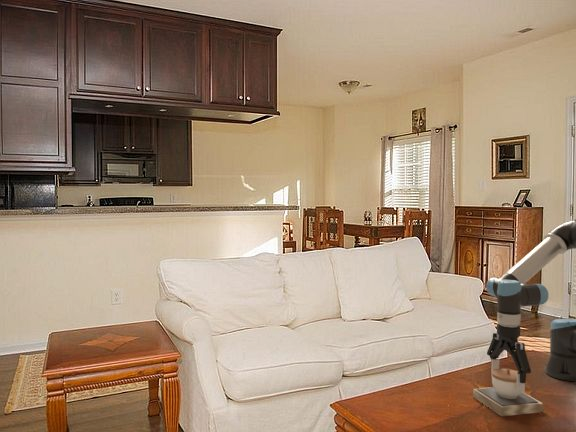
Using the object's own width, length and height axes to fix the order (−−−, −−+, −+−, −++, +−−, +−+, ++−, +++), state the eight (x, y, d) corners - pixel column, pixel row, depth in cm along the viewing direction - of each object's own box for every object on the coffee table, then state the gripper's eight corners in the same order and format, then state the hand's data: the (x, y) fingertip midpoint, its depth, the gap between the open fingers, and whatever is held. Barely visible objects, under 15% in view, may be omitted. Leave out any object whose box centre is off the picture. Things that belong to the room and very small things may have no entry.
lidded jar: (527, 403, 164) (528, 376, 164) (494, 399, 167) (494, 373, 166) (520, 390, 175) (521, 365, 174) (488, 388, 177) (489, 362, 177)
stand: (511, 393, 181) (511, 384, 180) (542, 412, 165) (542, 402, 165) (472, 397, 177) (473, 388, 177) (501, 416, 161) (501, 406, 161)
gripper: (477, 316, 181) (476, 372, 182) (523, 335, 157) (522, 399, 158) (495, 315, 183) (494, 370, 184) (543, 333, 159) (542, 397, 159)
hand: (507, 384), depth 171 cm, fingers open, 13 cm apart
